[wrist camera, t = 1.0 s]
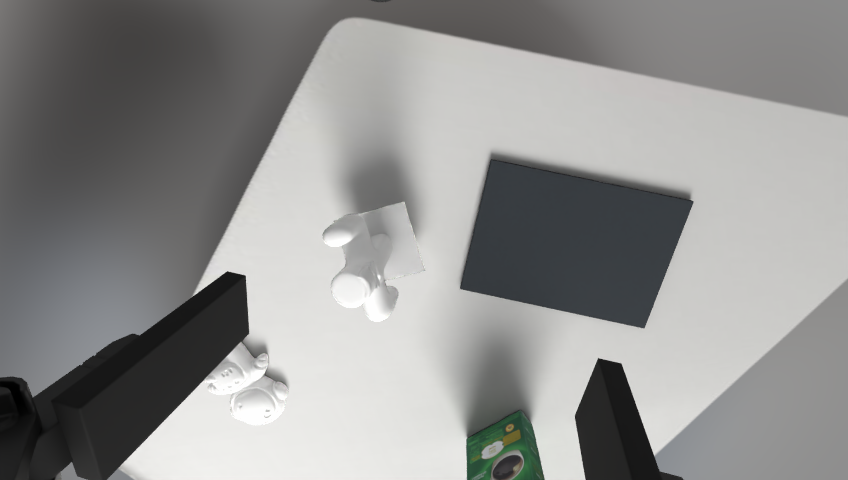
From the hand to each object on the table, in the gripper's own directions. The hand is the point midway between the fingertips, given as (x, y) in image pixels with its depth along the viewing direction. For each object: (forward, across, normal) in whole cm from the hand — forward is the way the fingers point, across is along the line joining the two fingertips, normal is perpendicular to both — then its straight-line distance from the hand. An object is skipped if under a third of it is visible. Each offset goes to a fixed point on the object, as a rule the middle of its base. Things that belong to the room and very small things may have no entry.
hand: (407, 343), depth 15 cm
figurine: (+27, -8, -9) cm, 29 cm away
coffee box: (+25, +9, -30) cm, 40 cm away
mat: (+29, +11, -6) cm, 32 cm away
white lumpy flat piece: (+22, -22, -29) cm, 43 cm away
